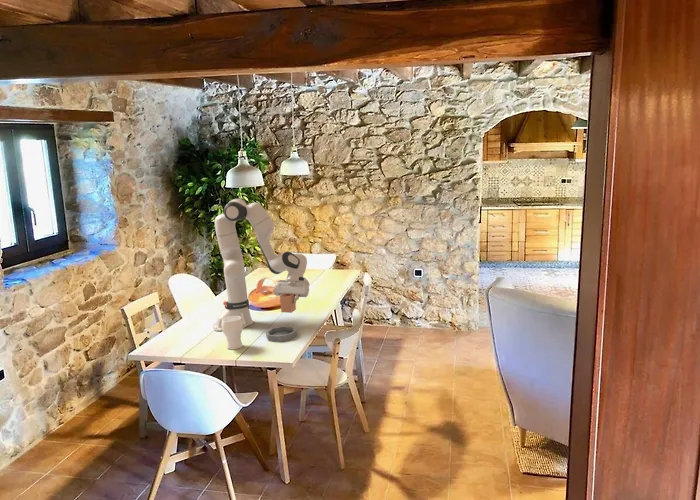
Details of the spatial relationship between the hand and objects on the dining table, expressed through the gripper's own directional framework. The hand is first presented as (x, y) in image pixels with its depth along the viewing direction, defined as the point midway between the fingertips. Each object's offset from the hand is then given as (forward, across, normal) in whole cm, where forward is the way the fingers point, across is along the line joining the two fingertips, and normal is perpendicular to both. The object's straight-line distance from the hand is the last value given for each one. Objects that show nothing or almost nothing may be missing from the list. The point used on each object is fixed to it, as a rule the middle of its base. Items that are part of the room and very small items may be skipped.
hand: (287, 302), depth 316 cm
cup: (+33, -15, -12) cm, 39 cm away
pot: (+3, 0, +4) cm, 5 cm away
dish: (+20, +2, 0) cm, 20 cm away
